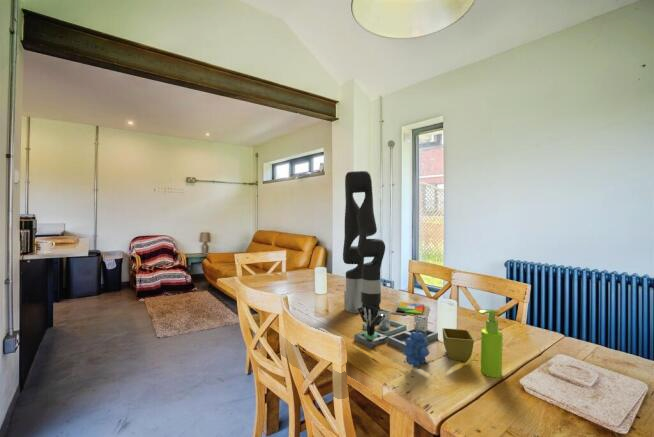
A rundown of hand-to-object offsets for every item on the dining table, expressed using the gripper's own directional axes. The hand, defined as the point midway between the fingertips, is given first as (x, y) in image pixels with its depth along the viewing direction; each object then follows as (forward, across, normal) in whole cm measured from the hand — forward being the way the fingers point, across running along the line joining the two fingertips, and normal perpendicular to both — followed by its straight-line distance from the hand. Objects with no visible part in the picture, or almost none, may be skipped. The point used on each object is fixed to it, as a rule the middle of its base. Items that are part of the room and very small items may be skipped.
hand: (370, 334), depth 119 cm
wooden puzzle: (+4, -15, +43) cm, 46 cm away
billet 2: (+2, +10, +18) cm, 20 cm away
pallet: (+3, +10, +13) cm, 17 cm away
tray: (+3, -5, +13) cm, 14 cm away
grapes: (+4, +23, -1) cm, 23 cm away
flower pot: (+4, +27, +15) cm, 31 cm away
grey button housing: (+3, 0, 0) cm, 3 cm away
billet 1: (+2, -5, +13) cm, 14 cm away
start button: (+3, 0, 0) cm, 3 cm away
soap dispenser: (+4, +38, +15) cm, 41 cm away
